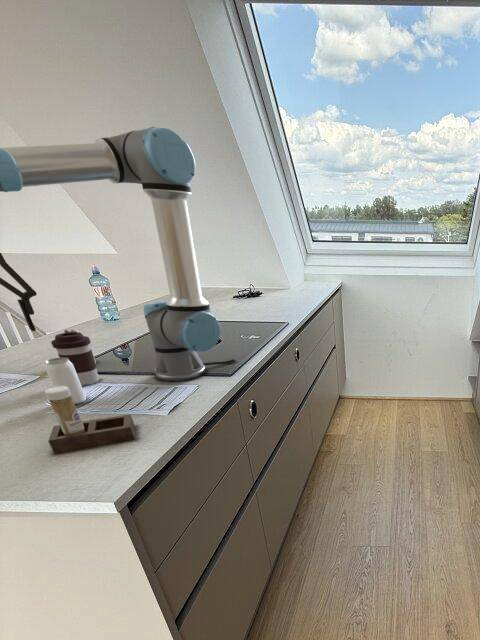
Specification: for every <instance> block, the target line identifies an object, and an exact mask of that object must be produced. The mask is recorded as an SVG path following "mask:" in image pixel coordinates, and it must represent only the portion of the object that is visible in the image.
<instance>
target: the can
mask: <svg viewBox="0 0 480 640" xmlns="http://www.w3.org/2000/svg"><path fill="white" fill-rule="evenodd" d="M44 363H45V368H44V369H45V371H46V373H47V376H48V378H49V381H50V382H51V385H52V387H58V386H65V387H68V388H69V390H70V393H71V398H72V400H73V402H74V405H75V406H76V405H79V404H82V403H85V402H86V400H87V396H86V393H85V391H84V388H83V385H81V383H80V381H79V378H78V376H77V373H76V371H75V368H74V366H73V364H72V363H71V362H70V361H69V358H60V357H54V358H50V359H47V360H45V361H44Z"/></svg>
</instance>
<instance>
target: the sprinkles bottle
mask: <svg viewBox="0 0 480 640" xmlns="http://www.w3.org/2000/svg"><path fill="white" fill-rule="evenodd" d="M44 394H45V397H46V399H47V400H48V402H49V404H50V406H51V408H52V411H53V413H54V416H55V418H56V420H57V423H58V425H60V427H61V429H62V432H63V433H64V435H65V436H66V435H72V434H78V433H84V432H86V431H85V429H84V425H83V423H82V422H83V420H82V418H81V416H80V415H79V412H78V410H77V407H76V404H75V405H74V402H73V400H72V398H71V393H70V390H69V388H68V387H65V386H58V387H53V386H52V387H50V388H47V389H45V390H44Z"/></svg>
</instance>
